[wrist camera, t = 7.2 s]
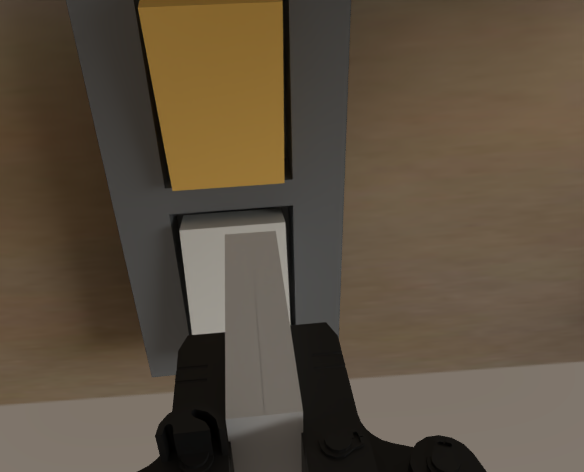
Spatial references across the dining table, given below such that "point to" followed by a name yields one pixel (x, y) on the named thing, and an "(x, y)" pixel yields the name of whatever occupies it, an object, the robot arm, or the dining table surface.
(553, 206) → the dining table surface
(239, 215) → the rocker grey
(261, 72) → the rocker amber
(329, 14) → the power strip
